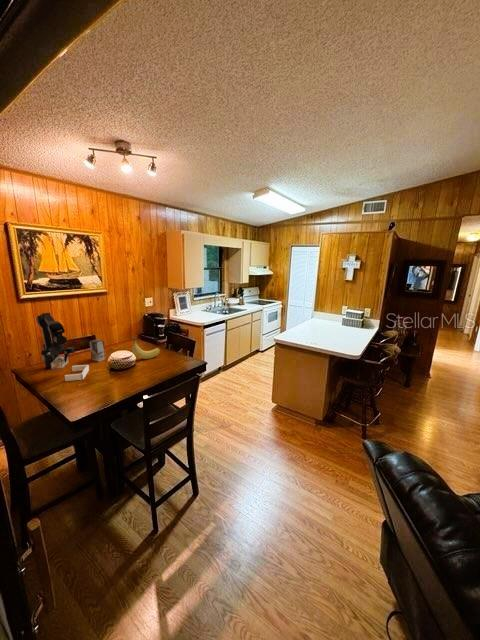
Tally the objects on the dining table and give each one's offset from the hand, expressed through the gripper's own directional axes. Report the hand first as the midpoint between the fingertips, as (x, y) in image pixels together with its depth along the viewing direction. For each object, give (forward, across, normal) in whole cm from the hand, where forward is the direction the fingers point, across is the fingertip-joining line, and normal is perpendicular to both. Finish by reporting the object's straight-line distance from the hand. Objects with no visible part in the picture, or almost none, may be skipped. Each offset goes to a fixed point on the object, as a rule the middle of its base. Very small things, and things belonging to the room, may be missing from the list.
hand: (59, 362), depth 183 cm
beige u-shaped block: (+10, +10, 0) cm, 14 cm away
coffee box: (+11, +18, +29) cm, 35 cm away
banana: (+11, +56, +23) cm, 61 cm away
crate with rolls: (+2, 0, 0) cm, 2 cm away
